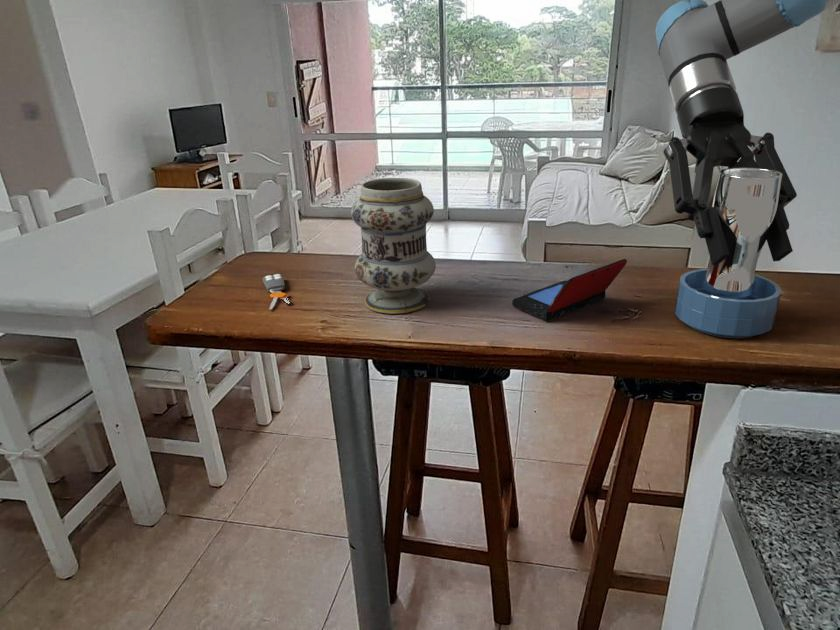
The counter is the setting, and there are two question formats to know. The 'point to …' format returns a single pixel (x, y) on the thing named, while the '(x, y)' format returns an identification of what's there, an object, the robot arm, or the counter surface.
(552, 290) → the handheld console
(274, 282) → the key chain
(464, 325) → the counter surface
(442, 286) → the counter surface
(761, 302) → the bowl
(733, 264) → the beer glass
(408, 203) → the apothecary jar
